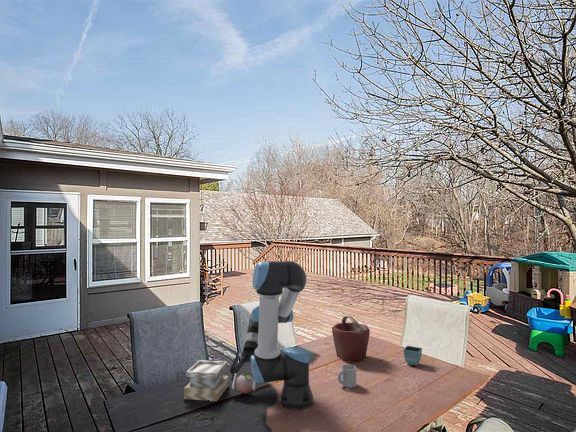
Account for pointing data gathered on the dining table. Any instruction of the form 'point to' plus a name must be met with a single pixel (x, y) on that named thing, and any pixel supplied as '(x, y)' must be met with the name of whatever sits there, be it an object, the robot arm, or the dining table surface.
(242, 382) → the decorative fruit
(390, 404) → the dining table surface
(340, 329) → the bucket
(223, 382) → the block tower
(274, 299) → the robot arm
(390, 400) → the dining table surface
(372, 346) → the dining table surface
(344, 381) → the cup
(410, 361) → the flower pot
